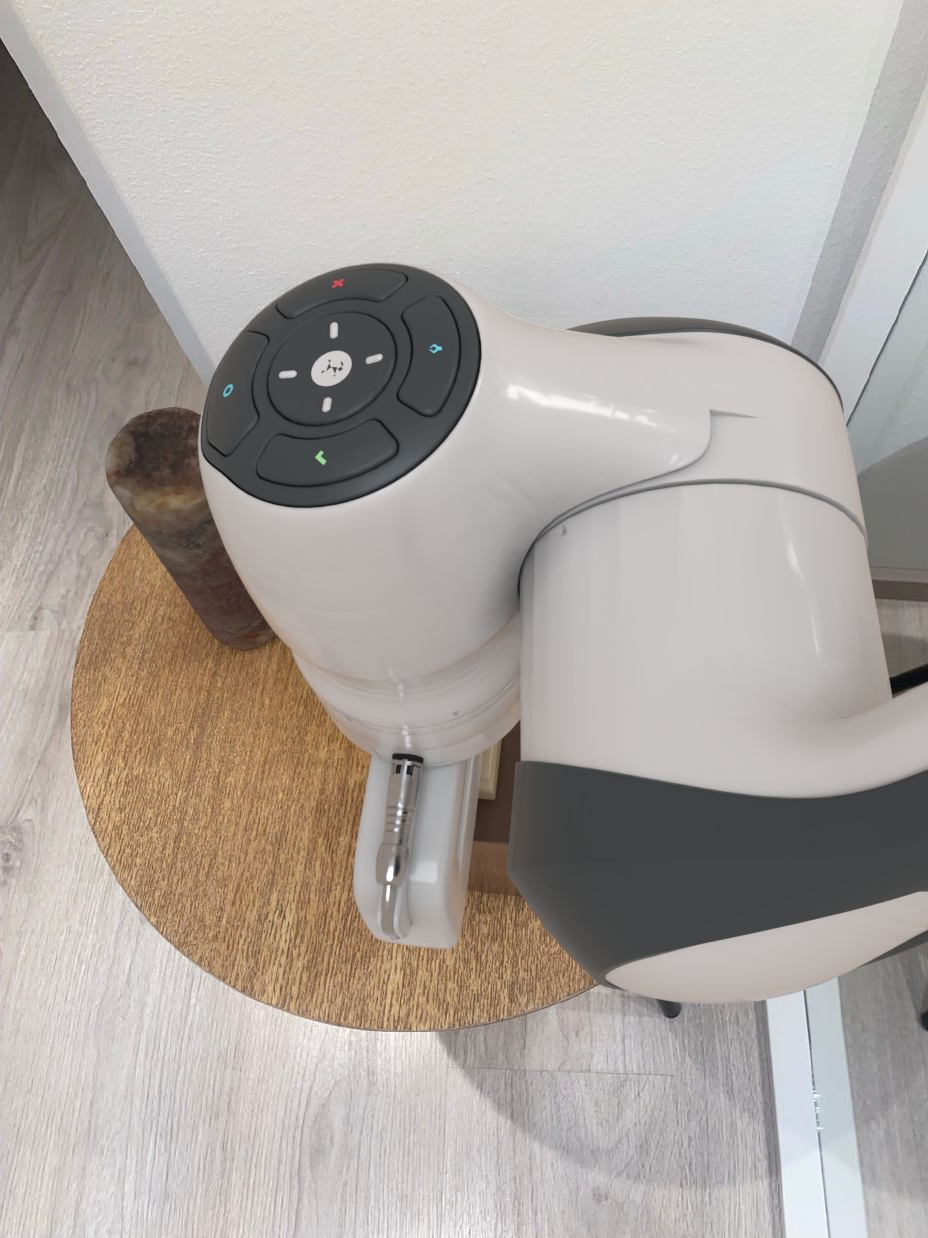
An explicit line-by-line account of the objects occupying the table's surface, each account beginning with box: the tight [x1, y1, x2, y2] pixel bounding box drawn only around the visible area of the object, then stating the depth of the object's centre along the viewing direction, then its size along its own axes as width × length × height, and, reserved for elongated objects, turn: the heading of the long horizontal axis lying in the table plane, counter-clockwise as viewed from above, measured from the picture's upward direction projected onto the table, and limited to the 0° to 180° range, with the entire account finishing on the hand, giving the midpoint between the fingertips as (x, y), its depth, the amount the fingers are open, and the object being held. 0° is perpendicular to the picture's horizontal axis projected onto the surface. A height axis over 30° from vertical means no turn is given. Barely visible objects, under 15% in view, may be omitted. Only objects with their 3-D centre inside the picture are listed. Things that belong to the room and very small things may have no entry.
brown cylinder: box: [104, 406, 277, 650], centre depth 65 cm, size 8×7×20 cm
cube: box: [478, 739, 502, 800], centre depth 48 cm, size 4×4×4 cm
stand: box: [467, 719, 522, 897], centre depth 58 cm, size 8×8×16 cm
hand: (459, 751), depth 49 cm, fingers closed on cube, 4 cm apart
